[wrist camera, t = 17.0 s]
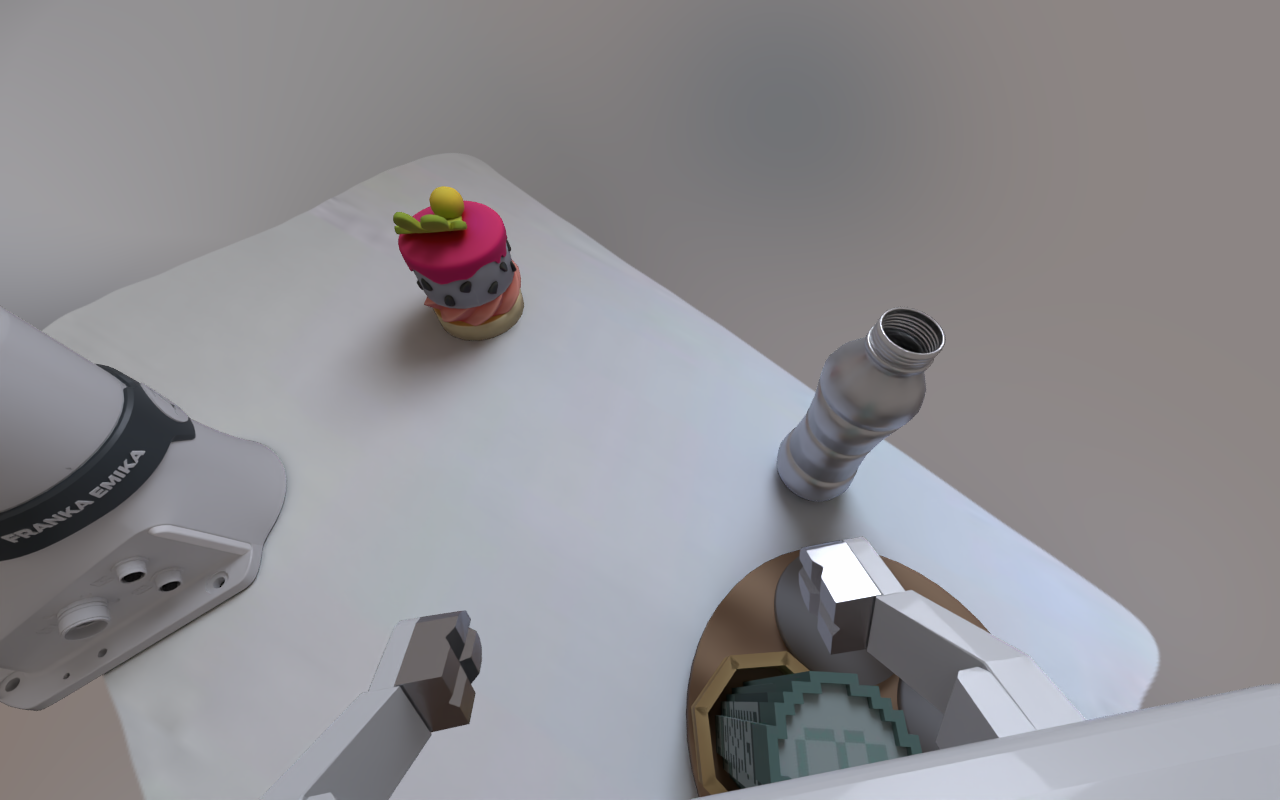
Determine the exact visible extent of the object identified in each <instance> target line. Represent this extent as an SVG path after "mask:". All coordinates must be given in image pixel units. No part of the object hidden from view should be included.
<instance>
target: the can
mask: <svg viewBox="0 0 1280 800" xmlns="http://www.w3.org/2000/svg"><path fill="white" fill-rule="evenodd" d="M726 699H727V701H721V715H715V725H716V753H718V754H719V755H721V756H722V757H723V769H724V770H725V771H726V772H728V773H729V774H730V778H731V779H732V780H734V781H735V782H736V785H737V787H738V788H740V789H744V788H749V787H754V786H759V785H764V784H770V783H775V782H780V781H785V780H790V779H795V778H800V777H805V776H810V775H815V774H820V773H825V772H830V771H835V770H840V769H845V768H850V767H855V766H860V765H865V764H870V763H875V762H880V761H885V760H890V759H895V758H900V757H905V756H910V755H915V754H920V753H922V749H921V745H920V740H919V736H918V735H913V734H908V731H907V727H906V722H905V717H904V713H903V710H893V707H892V702H891V698H881V696H880V691H879V686H869V685H859V681H858V675H857V674H852V673H836V672H819V671H806V672H800V673H794V674H788V675H782V676H776V677H770V678H764V679H758V680H752V681H746V682H743V687H737V688H732V694H729V695H726Z"/></svg>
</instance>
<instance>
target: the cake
mask: <svg viewBox="0 0 1280 800" xmlns="http://www.w3.org/2000/svg"><path fill="white" fill-rule="evenodd" d="M429 200H430V207H428V208H426V209H423V210H422V211H420V212H418V213H417V214H415V215H414V216H413V217H411V216H410V215H408V214H405V213H402V212H396V213H395V214H394V217H393V221H394V223H395V224H396V225H397V226H395V232H396V233H397V234H400V235H399V239H398V245H399V249H400V252H401V254H402V256H403V258H404V260H405V262H406V264H407V265H408V267H409V269H410V270H411V271H414V273H415V275H416V277H417V279H418V281H417V284H418V286H419V287H420V288H421V289H422V290H424V292H425V293H426V295H427V298H426V301H425V303H424V305H426V306H430V307H433V309H434V311H435V313H436V315H437V317H438V319H439V321H440V322H441V324H442V326H443V327H444V329H445V330H446V331H447V332H448V333H450V334H451V335H452V336H454V337H457V338H460V339H464V340H478V341H480V340H484V339H489V338H494V337H496V336H498V335H500V334H502V333H504V332H506V331H507V330H509V329H510V328H511V327H512V326H514V325H515V324H516V323H517V321H518V320H519V318H520V317H521V315H522V312H523V308H524V302H523V297H522V293H521V290H520V288H521V277H520V272H519V268H518V266H517V265H516V264H515V263H514V261H513V260H512V259H511V255H510V251H511V247H510V245H509V242H508V240H507V235H506V229H505V226H504V223H503V221H502V219H501V217H500V216H499V215H498V214H497V213H496V212H495V211H494V210H493V209H491V208H490V207H488V206H486V205H483V204H480V203H477V202H472V201H463V198H462V197H461V195H460V194H459V193H458V192H457V191H456V190H455V189H453V188H451V187H444V186H442V187H438V188H436V189H435V190H434V191H433V192H432V194H431V196H430V199H429Z"/></svg>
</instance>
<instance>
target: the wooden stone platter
mask: <svg viewBox="0 0 1280 800" xmlns="http://www.w3.org/2000/svg"><path fill="white" fill-rule="evenodd" d="M879 556H880V555H879ZM799 557H800V550H797V551H794V552H790V553H787V554H783V555H781V556H779V557H776V558H774V559H772V560H770V561H768V562H765V563H764V564H762V565H761V566H759V567H758V568H756V569H755V570H753V571H752V572H750V573H749V574H748V575H746V576H745V577H744V578H743V579H742V580H741V581H740V582H739V583H737V584H736V585H735V586H734V587H733V589H732V590H731V591H730V592H729V593H728V595H727V596H726V597H725V598H724V599H723V601H722V602H721V603H720V604H719V605H718V607H717V608H716V610H715V612H714V613H713V615H712V616H711V618H710V620H709V621H708V623H707V625H706V627H705V630H704V632H703V634H702V636H701V638H700V641H699V643H698V646H697V650H696V653H695V656H694V659H693V663H692V667H691V673H690V678H689V684H688V693H687V709H686V720H687V741H688V748H689V754H690V761H691V767H692V772H693V776H694V780H695V783H696V787H697V791H698V795H699V797H704V796H709V795H714V794H719V793H724V792H729V791H734V790H739V789H740V788H738V787H737V785H736V782H735V781H734V780H732V779H731V778H730V774H729V773H728V772H726V771H725V770H724V769H723V757H722V756H721V755H719V754H718V753H716V725H715V715H721V701H727V699H726V695H729V694H732V688H737V687H743V682H746V681H752V680H758V679H764V678H770V677H776V676H782V675H788V674H794V673H800V672H806V671H819V672H836V673H852V674H857V675H858V681H859V685H869V686H879V691H880V696H881V698H891V702H892V707H893V710H903V713H904V717H905V722H906V727H907V731H908V734H913V735H918V736H919V740H920V745H921V749H922V753H925V752H930V751H935V750H940V748H939V747H938V745H937V743H936V739H937V736H938V733H939V730H940V727H941V724H942V721H943V717H944V714H943V713H942V712H941V711H940V710H939V709H937V708H936V707H935V706H934V705H932V704H931V703H930V702H929V701H928V700H926V699H925V698H924V697H923V696H921V695H920V694H919V693H918V692H916V691H915V690H914V689H913V688H912V687H910V686H909V685H908V684H907V683H905V682H904V681H903V680H902V679H901V678H899V677H898V676H897V675H896V674H894V673H893V672H892V671H891V670H890V669H888V668H887V667H886V666H885V665H883V664H882V663H881V662H880V661H878V660H877V659H876V658H875V657H874V656H872V655H871V654H870V653H869V652H867V649H864V650H858V651H851V652H845V653H839V654H833V655H830V653H829V651H828V649H827V647H826V645H825V643H824V641H823V639H822V637H821V635H820V633H819V631H818V629H817V625H818V617H816V616H815V615H813V614H812V613H810V612H809V611H808V609H807V607H806V604H805V602H804V600H803V597H802V594H801V590H800V585H799V571H800V570H801V569H802V567H803V565H802V563H801V561H800V559H799ZM880 557H881V559H882V560H883V561H884V563H885V564H886V566H887V567H888V568H889V570H890V571H891V572H892V574H893V575H894V576H895V578H896V579H897V580H898V582H899V583H900V584H901V586H902V587H903V588H904V590H905V591H908V590H913V591H915V592H916V593H918V594H920V595H922V596H924V597H925V598H927V599H929V600H931V601H932V602H934V603H936V604H938V605H940V606H941V607H943V608H945V609H947V610H949V611H950V612H952V613H954V614H956V615H958V616H959V617H961V618H963V619H965V620H967V621H968V622H970V623H972V624H974V625H976V626H977V627H979V628H981V629H983V630H985V631H986V632H988V633H990V632H989V631H988V630H987V629H986V628H985V627H984V626H983V624H982V623H981V622H980V621H979V620H978V619H977V618H976V617H975V616H974V615H973V614H972V613H971V612H970V611H969V610H968V609H967V608H965V607H964V606H963V605H962V604H961V603H960V602H959V601H958V600H957V599H955V598H954V597H953V596H952V595H950V594H949V593H948V592H946V591H945V590H944V589H943V588H941V587H940V586H939V585H937V584H936V583H934V582H932V581H931V580H929V579H928V578H926V577H925V576H923V575H922V574H920V573H918V572H916V571H914V570H912V569H910V568H908V567H906V566H904V565H902V564H901V563H899V562H896V561H893V560H891V559H888V558H885V557H883V556H880ZM990 634H991V633H990Z"/></svg>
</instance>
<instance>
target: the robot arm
mask: <svg viewBox="0 0 1280 800" xmlns="http://www.w3.org/2000/svg"><path fill="white" fill-rule="evenodd" d="M285 493H286V473H285V469H284V466H283V464H282V462H281V460H280V458H279V457H278V456H277V455H276V453H275V452H273V451H272V450H271V449H270V448H268V447H267V446H265V445H263V444H261V443H258V442H254V441H250V440H245V439H241V438H238V437H234V436H231V435H228V434H225V433H223V432H220V431H218V430H215V429H213V428H211V427H208V426H206V425H204V424H202V423H199V422H197V421H195V420H193V419H191V418H189V417H188V415H187V414H186V413H185V412H184V411H183V410H182V409H181V408H180V407H179V406H177V405H176V404H174V403H173V402H172V401H170V400H169V399H167V398H166V397H164V396H163V395H161V394H160V393H158V392H156V391H155V390H153V389H152V388H150V387H148V386H147V385H145V384H144V383H142V382H141V383H139V382H137V381H135V380H134V379H132V378H130V377H128V376H127V375H125V374H123V373H121V372H120V371H118V370H116V369H114V368H111V367H109V366H105V365H100V364H94V363H93V362H91V361H89V360H88V359H86V358H84V357H83V356H81V355H80V354H78V353H76V352H75V351H73V350H71V349H70V348H68V347H67V346H65V345H63V344H62V343H60V342H58V341H57V340H55V339H54V338H52V337H50V336H49V335H47V334H45V333H44V332H42V331H41V330H39V329H37V328H35V327H34V326H32V325H31V324H29V323H28V322H26V321H24V320H23V319H21V318H19V317H18V316H16V315H15V314H13V313H11V312H10V311H8V310H6V309H5V308H3V307H2V306H0V702H2V703H4V704H6V705H8V706H11V707H15V708H19V709H25V710H34V711H38V710H42V709H45V708H47V707H49V706H50V705H53V704H54V703H56V702H58V701H59V700H61V699H63V698H64V697H66V696H68V695H69V694H71V693H73V692H74V691H76V690H77V689H79V688H81V687H83V686H84V685H86V684H88V683H89V682H91V681H93V680H94V679H96V678H98V677H99V676H101V675H103V674H104V673H106V672H108V671H109V670H111V669H113V668H114V667H116V666H118V665H119V664H121V663H123V662H124V661H126V660H127V659H129V658H131V657H132V656H134V655H136V654H137V653H139V652H141V651H142V650H144V649H146V648H147V647H149V646H151V645H152V644H154V643H156V642H157V641H159V640H161V639H162V638H164V637H166V636H167V635H169V634H171V633H172V632H174V631H176V630H177V629H179V628H180V627H182V626H184V625H185V624H187V623H189V622H190V621H192V620H194V619H195V618H197V617H199V616H200V615H202V614H204V613H205V612H207V611H209V610H210V609H212V608H214V607H215V606H217V605H219V604H220V603H222V602H224V601H225V600H227V599H229V598H230V597H232V596H233V595H235V594H237V593H238V592H240V591H242V590H243V589H245V588H246V587H248V586H249V585H250V584H251V583H252V582H253V580H254V579H255V577H256V575H257V573H258V570H259V566H260V561H261V555H262V548H263V544H264V542H265V539H266V537H267V535H268V534H269V532H270V530H271V528H272V527H273V525H274V523H275V521H276V519H277V517H278V515H279V513H280V511H281V508H282V505H283V502H284V498H285ZM799 559H800V561H801V563H802V565H803V567H802V569H801V570H800V571H799V585H800V590H801V594H802V597H803V600H804V602H805V604H806V607H807V609H808V611H809V612H810V613H812V614H813V615H815V616H816V617H818V625H817V629H818V631H819V633H820V635H821V637H822V639H823V641H824V643H825V645H826V647H827V649H828V651H829V653H830V655H833V654H839V653H845V652H851V651H858V650H864V649H867V652H869V653H870V654H871V655H872V656H874V657H875V658H876V659H877V660H878V661H880V662H881V663H882V664H883V665H885V666H886V667H887V668H888V669H890V670H891V671H892V672H893V673H894V674H896V675H897V676H898V677H899V678H901V679H902V680H903V681H904V682H905V683H907V684H908V685H909V686H910V687H912V688H913V689H914V690H915V691H916V692H918V693H919V694H920V695H921V696H923V697H924V698H925V699H926V700H928V701H929V702H930V703H931V704H932V705H934V706H935V707H936V708H937V709H939V710H940V711H941V712H942V713H943V714H944V717H943V721H942V724H941V727H940V730H939V733H938V736H937V739H936V743H937V745H938V747H939V748H940V750H935V751H930V752H925V753H920V754H915V755H910V756H905V757H900V758H895V759H890V760H885V761H880V762H875V763H870V764H865V765H860V766H855V767H850V768H845V769H840V770H835V771H830V772H825V773H820V774H815V775H810V776H805V777H800V778H795V779H790V780H785V781H780V782H775V783H770V784H764V785H759V786H754V787H749V788H744V789H739V790H734V791H729V792H724V793H719V794H714V795H709V796H704V797H699V798H694V799H689V800H1280V683H1279V684H1268V685H1260V686H1256V687H1251V688H1245V689H1241V690H1236V691H1231V692H1227V693H1221V694H1216V695H1211V696H1206V697H1201V698H1196V699H1191V700H1187V701H1181V702H1176V703H1171V704H1166V705H1161V706H1156V707H1151V708H1146V709H1141V710H1136V711H1131V712H1126V713H1121V714H1116V715H1110V716H1105V717H1100V718H1095V719H1090V720H1086V719H1085V718H1084V716H1083V715H1082V714H1081V713H1080V712H1079V711H1078V710H1077V709H1076V707H1075V706H1074V705H1073V704H1072V703H1071V702H1070V701H1069V700H1068V698H1067V697H1066V696H1065V695H1064V694H1063V693H1062V692H1061V691H1060V689H1059V688H1058V687H1057V686H1056V685H1055V684H1054V683H1053V682H1052V680H1051V679H1050V678H1049V677H1048V676H1047V675H1046V674H1045V673H1044V671H1043V670H1042V669H1041V668H1040V667H1039V666H1038V665H1037V664H1036V662H1035V661H1034V660H1033V659H1032V658H1031V657H1030V656H1029V655H1028V654H1026V653H1024V652H1022V651H1020V650H1019V649H1017V648H1015V647H1013V646H1011V645H1010V644H1008V643H1006V642H1004V641H1002V640H1001V639H999V638H997V637H995V636H994V635H992V634H990V633H988V632H986V631H985V630H983V629H981V628H979V627H977V626H976V625H974V624H972V623H970V622H968V621H967V620H965V619H963V618H961V617H959V616H958V615H956V614H954V613H952V612H950V611H949V610H947V609H945V608H943V607H941V606H940V605H938V604H936V603H934V602H932V601H931V600H929V599H927V598H925V597H924V596H922V595H920V594H918V593H916V592H915V591H913V590H908V591H905V590H904V588H903V587H902V586H901V584H900V583H899V582H898V580H897V579H896V578H895V576H894V575H893V574H892V572H891V571H890V570H889V568H888V567H887V566H886V564H885V563H884V561H883V560H882V559H881V557H880V556H879V555H878V553H877V552H876V551H875V549H874V548H873V547H872V545H871V544H870V543H869V541H868V540H867V539H866V538H864V537H863V536H862V537H857V538H852V539H846V540H842V541H840V540H839V541H834V542H828V543H823V544H818V545H813V546H808V547H803V548H801V550H800V557H799ZM224 580H225V583H224V584H223V586H221V587H220V585H221V583H222V582H223V581H224ZM470 621H471V619H470V617H469V615H468V613H467V611H457V612H451V613H444V614H438V615H431V616H425V617H419V618H414V619H408V620H402V621H399V622H398V623H397V624H396V626H395V627H394V628H393V631H392V633H391V636H390V638H389V641H388V643H387V645H386V648H385V650H384V653H383V655H382V658H381V660H380V663H379V665H378V668H377V670H376V673H375V675H374V678H373V680H372V683H371V685H370V688H369V690H368V692H364V693H361V694H360V695H359V696H358V697H357V698H356V699H355V700H354V701H353V702H352V703H351V704H350V705H349V706H348V707H347V709H346V710H345V711H344V712H343V713H342V714H341V715H340V716H339V717H338V718H337V719H336V720H335V721H334V722H333V723H332V724H331V725H330V726H329V727H328V728H327V729H326V730H325V731H324V732H323V734H322V735H321V736H320V737H319V738H318V739H317V740H316V741H315V742H314V743H313V744H312V745H311V746H310V747H309V748H308V749H307V750H306V751H305V752H304V753H303V754H302V755H301V756H300V758H299V759H298V760H297V761H296V762H295V763H294V764H293V765H292V766H291V767H290V768H289V769H288V770H287V771H286V772H285V773H284V774H283V775H282V776H281V777H280V778H279V779H278V780H277V781H276V783H275V784H274V785H273V786H272V787H271V788H270V789H269V790H268V791H267V792H266V793H265V794H264V795H263V796H262V797H261V798H260V799H259V800H388V799H389V798H390V796H391V795H392V793H393V792H394V790H395V789H396V787H397V786H398V784H399V783H400V781H401V780H402V778H403V777H404V775H405V774H406V772H407V771H408V769H409V768H410V766H411V765H412V763H413V762H414V760H415V759H416V757H417V756H418V754H419V753H420V751H421V750H422V748H423V747H424V745H425V744H426V742H427V741H428V739H429V738H430V736H431V733H430V732H435V731H439V730H444V729H448V728H453V727H457V726H462V725H466V724H469V722H470V718H471V713H472V708H473V703H474V698H475V691H474V689H473V687H472V685H471V683H472V682H473V681H474V680H475V678H476V677H477V676H478V675H479V673H480V667H481V662H482V647H481V642H480V638H479V635H478V633H477V631H475V630H473V629H471V628H469V625H470ZM18 684H19V685H18Z"/></svg>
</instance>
